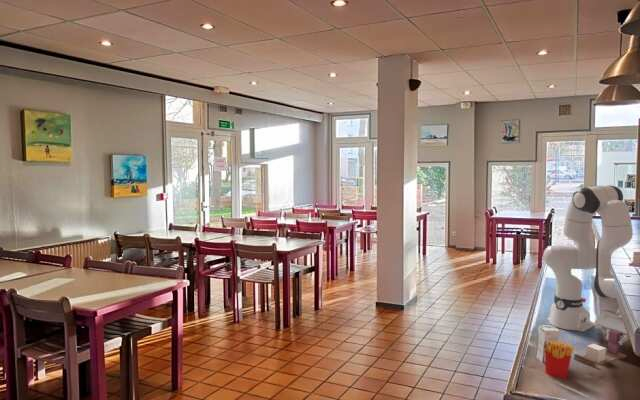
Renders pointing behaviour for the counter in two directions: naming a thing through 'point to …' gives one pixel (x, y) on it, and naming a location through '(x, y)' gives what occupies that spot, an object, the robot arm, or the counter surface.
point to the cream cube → (595, 352)
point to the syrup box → (545, 340)
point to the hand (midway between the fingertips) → (613, 342)
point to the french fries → (558, 359)
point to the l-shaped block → (611, 351)
